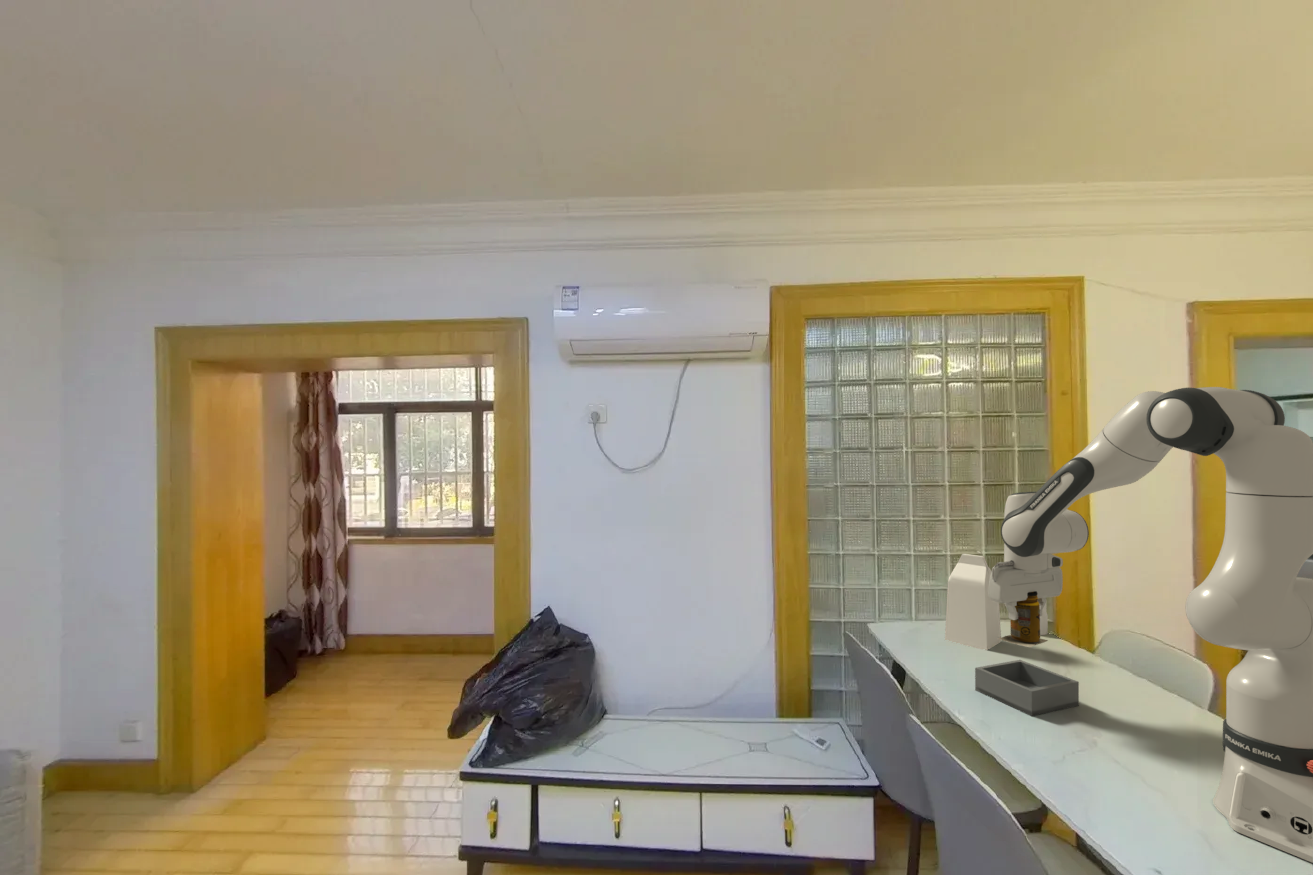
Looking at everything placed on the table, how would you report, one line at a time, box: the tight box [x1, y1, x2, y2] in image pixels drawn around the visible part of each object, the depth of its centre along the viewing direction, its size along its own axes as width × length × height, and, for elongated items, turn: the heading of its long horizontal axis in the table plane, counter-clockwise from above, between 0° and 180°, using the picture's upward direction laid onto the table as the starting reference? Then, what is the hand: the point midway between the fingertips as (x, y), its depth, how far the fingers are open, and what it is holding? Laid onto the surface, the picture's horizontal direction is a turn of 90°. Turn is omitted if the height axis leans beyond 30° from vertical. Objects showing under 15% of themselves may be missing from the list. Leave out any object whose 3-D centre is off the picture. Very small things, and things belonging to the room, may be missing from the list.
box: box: [974, 659, 1080, 717], centre depth 147 cm, size 15×15×6 cm
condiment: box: [998, 591, 1049, 648], centre depth 147 cm, size 7×8×12 cm
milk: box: [944, 553, 1002, 651], centre depth 187 cm, size 12×12×26 cm
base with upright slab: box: [1040, 602, 1049, 636], centre depth 197 cm, size 9×9×12 cm
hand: (1025, 617), depth 147 cm, fingers closed on condiment, 6 cm apart
